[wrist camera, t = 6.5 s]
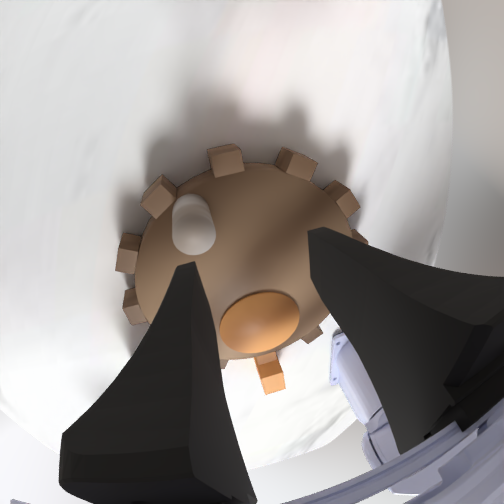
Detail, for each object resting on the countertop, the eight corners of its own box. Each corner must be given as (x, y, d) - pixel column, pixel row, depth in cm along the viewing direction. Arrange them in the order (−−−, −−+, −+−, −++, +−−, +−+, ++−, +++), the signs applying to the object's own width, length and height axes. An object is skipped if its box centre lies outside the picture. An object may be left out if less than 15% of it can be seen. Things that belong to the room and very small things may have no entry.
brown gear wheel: (389, 228, 22) (427, 259, 18) (266, 367, 28) (281, 408, 23) (209, 89, 14) (221, 86, 10) (89, 308, 20) (77, 358, 15)
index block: (276, 365, 28) (285, 388, 26) (257, 371, 28) (265, 394, 26) (273, 347, 27) (283, 372, 24) (252, 353, 27) (261, 378, 24)
